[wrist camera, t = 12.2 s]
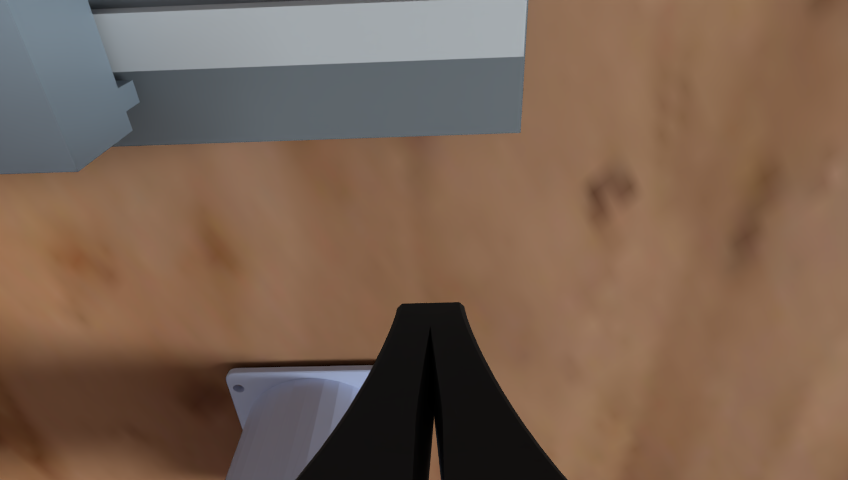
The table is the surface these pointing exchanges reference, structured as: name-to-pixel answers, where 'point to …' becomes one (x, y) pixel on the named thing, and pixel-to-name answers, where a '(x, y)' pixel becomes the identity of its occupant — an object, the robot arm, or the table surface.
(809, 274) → the table surface
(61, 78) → the carriage
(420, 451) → the robot arm
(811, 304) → the table surface
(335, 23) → the rail base
